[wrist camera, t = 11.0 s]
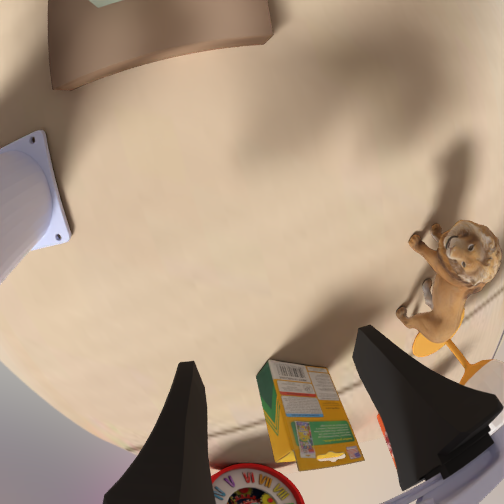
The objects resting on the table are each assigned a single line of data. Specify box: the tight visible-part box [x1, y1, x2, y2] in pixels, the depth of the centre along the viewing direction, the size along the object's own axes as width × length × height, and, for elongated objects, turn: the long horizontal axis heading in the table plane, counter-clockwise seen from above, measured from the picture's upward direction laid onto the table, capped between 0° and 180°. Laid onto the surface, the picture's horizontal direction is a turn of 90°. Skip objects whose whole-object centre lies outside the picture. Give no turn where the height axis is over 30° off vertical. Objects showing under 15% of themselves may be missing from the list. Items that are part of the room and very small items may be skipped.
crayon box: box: [256, 359, 365, 471], centre depth 22 cm, size 7×3×12 cm, turn 65°
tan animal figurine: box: [396, 220, 502, 344], centre depth 19 cm, size 15×5×9 cm, turn 16°
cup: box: [412, 308, 504, 435], centre depth 22 cm, size 9×9×16 cm
